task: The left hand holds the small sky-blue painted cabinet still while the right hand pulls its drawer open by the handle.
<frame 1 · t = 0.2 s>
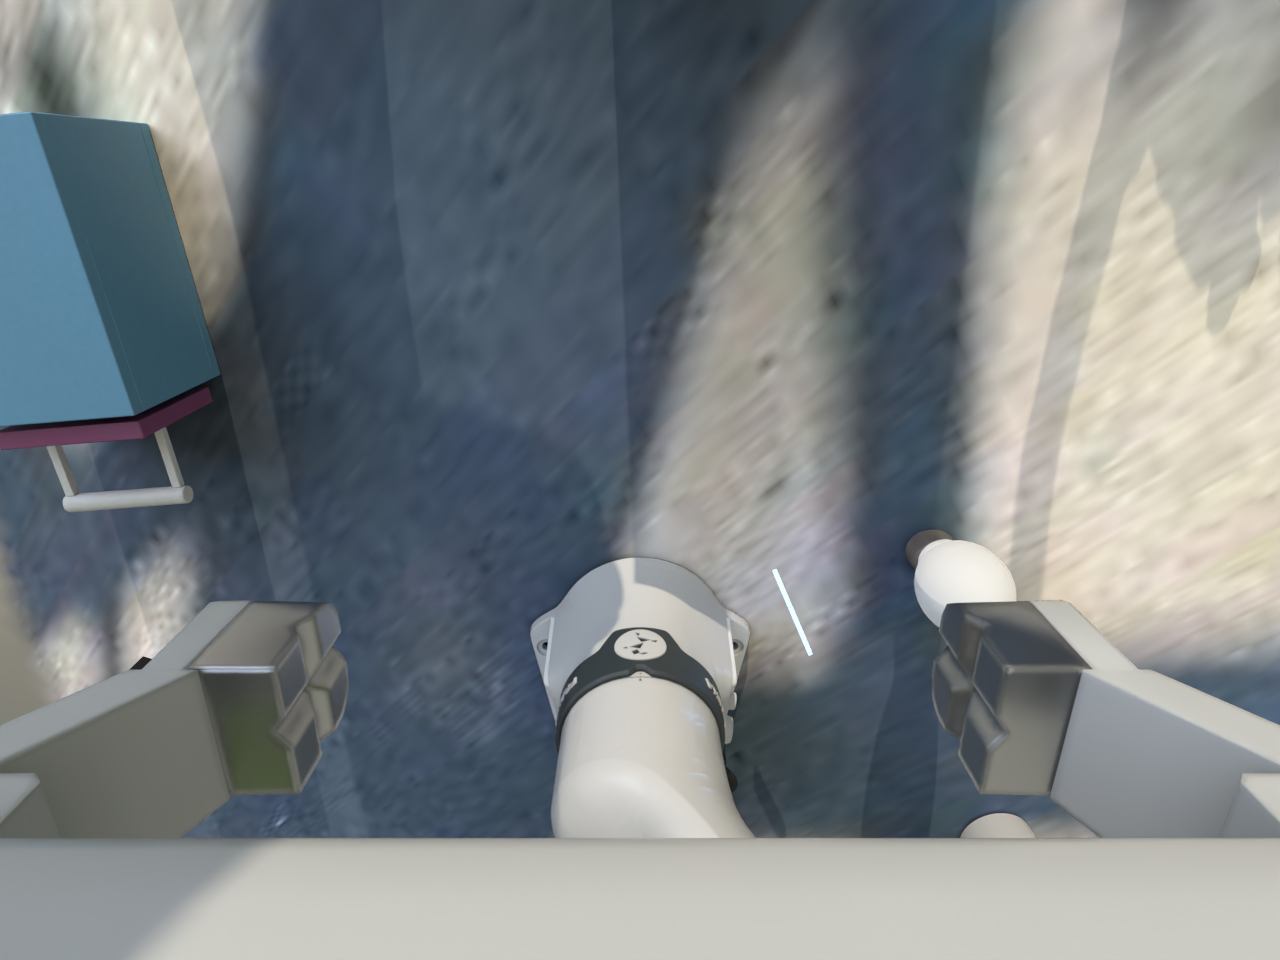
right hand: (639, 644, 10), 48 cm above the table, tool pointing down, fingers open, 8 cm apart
cabinet: (113, 262, 55), on the table
drawer: (89, 352, 52), point 5 cm above the table, slide at 0.6 cm
light bulb: (930, 546, 63), on the table
coffee cup: (993, 837, 75), on the table
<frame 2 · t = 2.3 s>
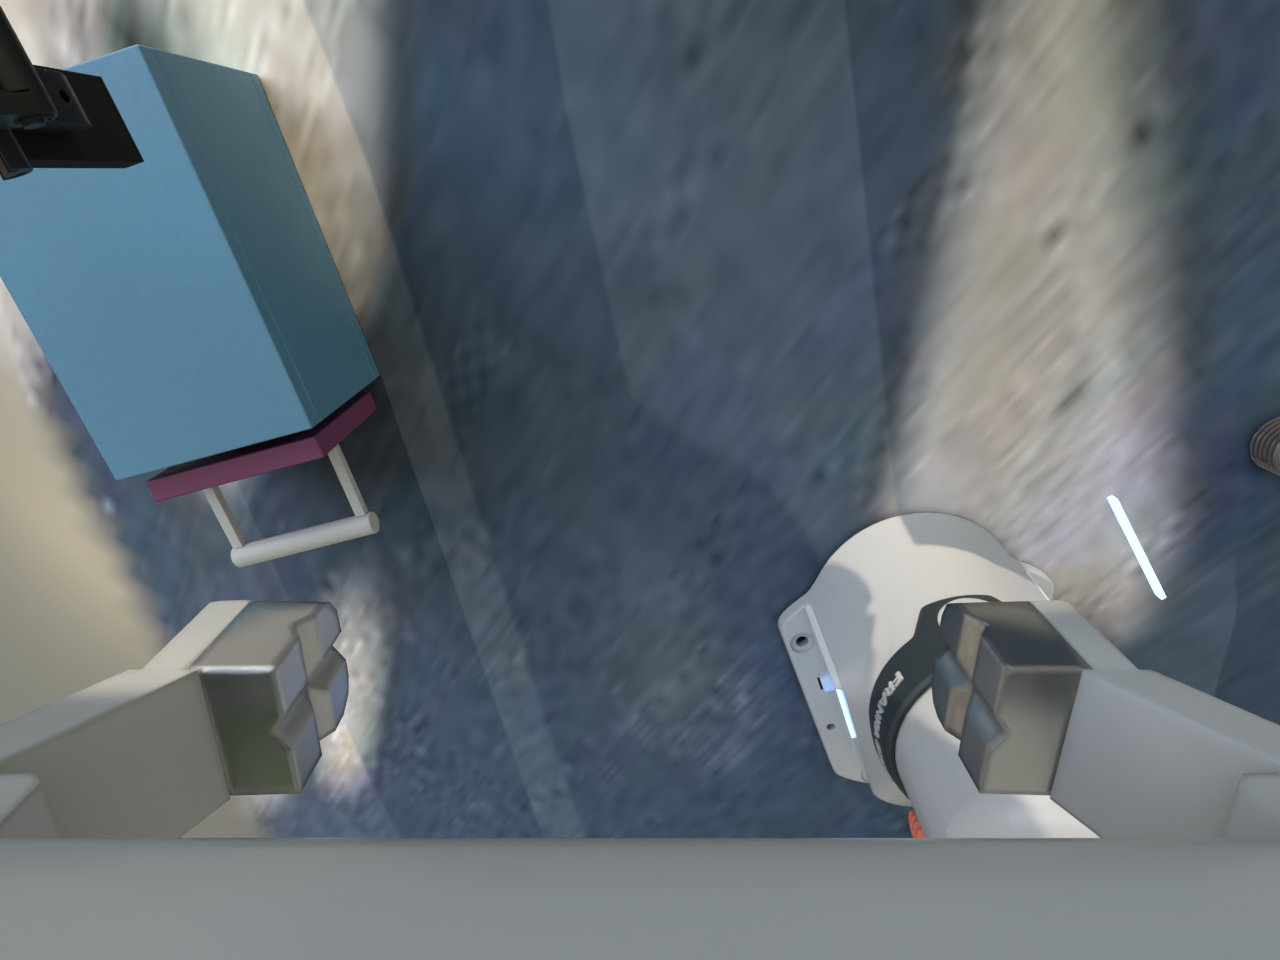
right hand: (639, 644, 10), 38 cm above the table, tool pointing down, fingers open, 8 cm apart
cabinet: (239, 260, 45), on the table
drawer: (235, 368, 42), point 5 cm above the table, slide at 0.6 cm
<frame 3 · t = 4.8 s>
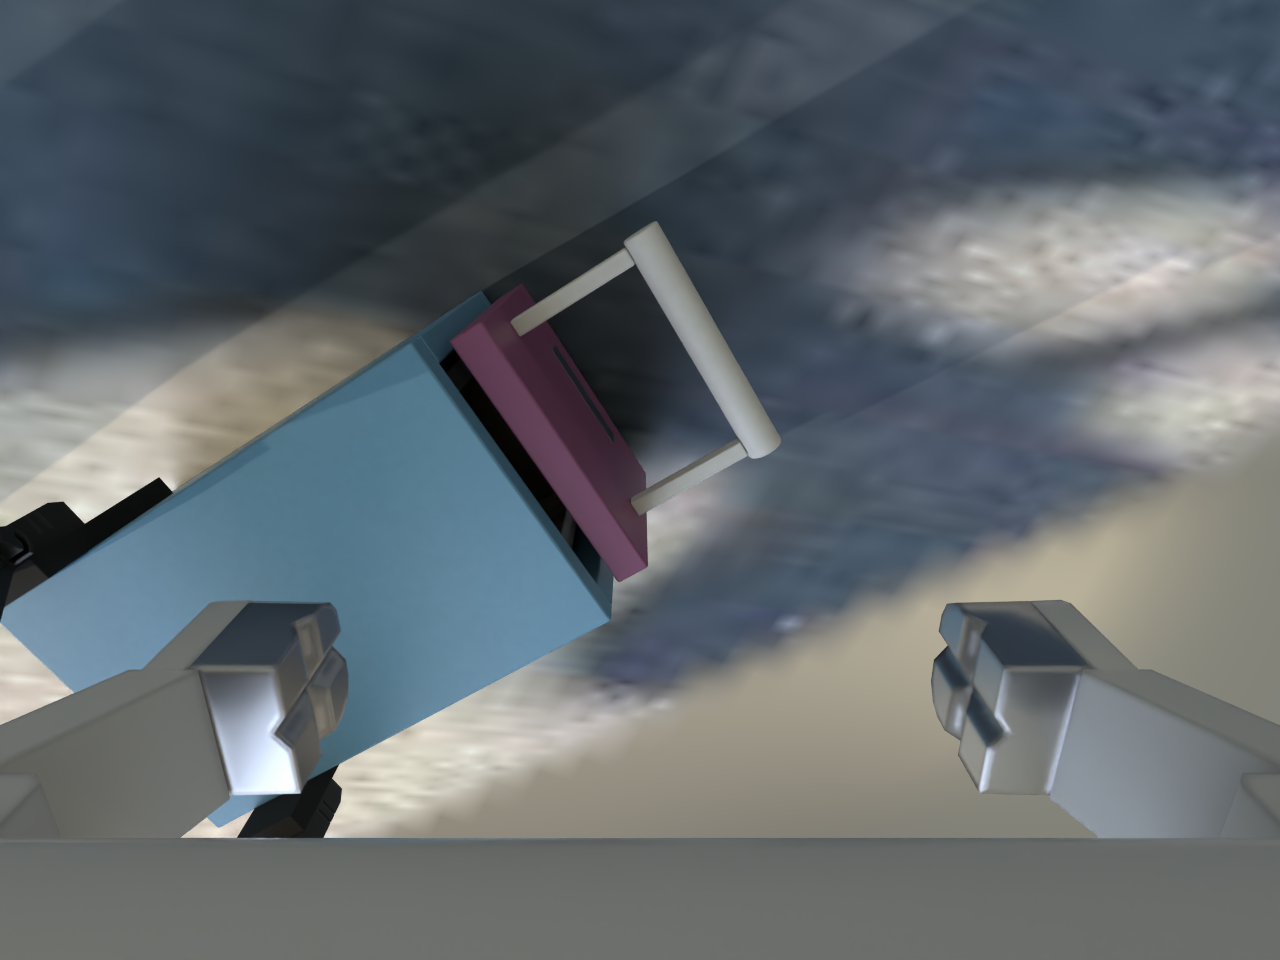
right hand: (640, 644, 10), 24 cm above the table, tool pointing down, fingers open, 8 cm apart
cabinet: (396, 492, 35), on the table, touching left hand
drawer: (467, 479, 29), point 5 cm above the table, slide at 0.6 cm
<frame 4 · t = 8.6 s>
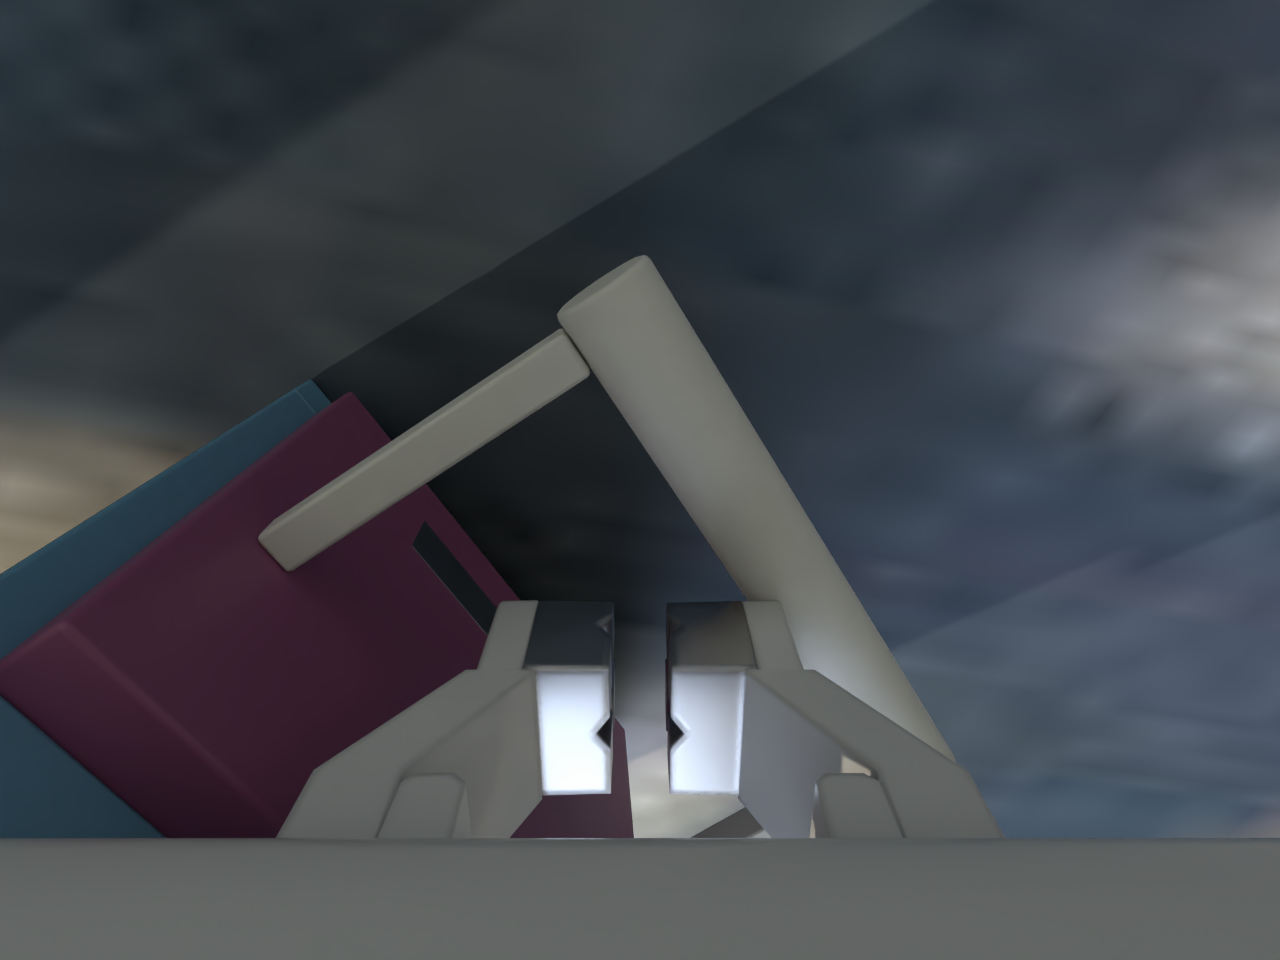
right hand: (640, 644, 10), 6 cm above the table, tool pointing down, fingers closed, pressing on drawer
cabinet: (179, 762, 18), point 1 cm above the table, tilted 6°, touching left hand
drawer: (225, 852, 13), point 6 cm above the table, slide at -0.3 cm, touching right hand
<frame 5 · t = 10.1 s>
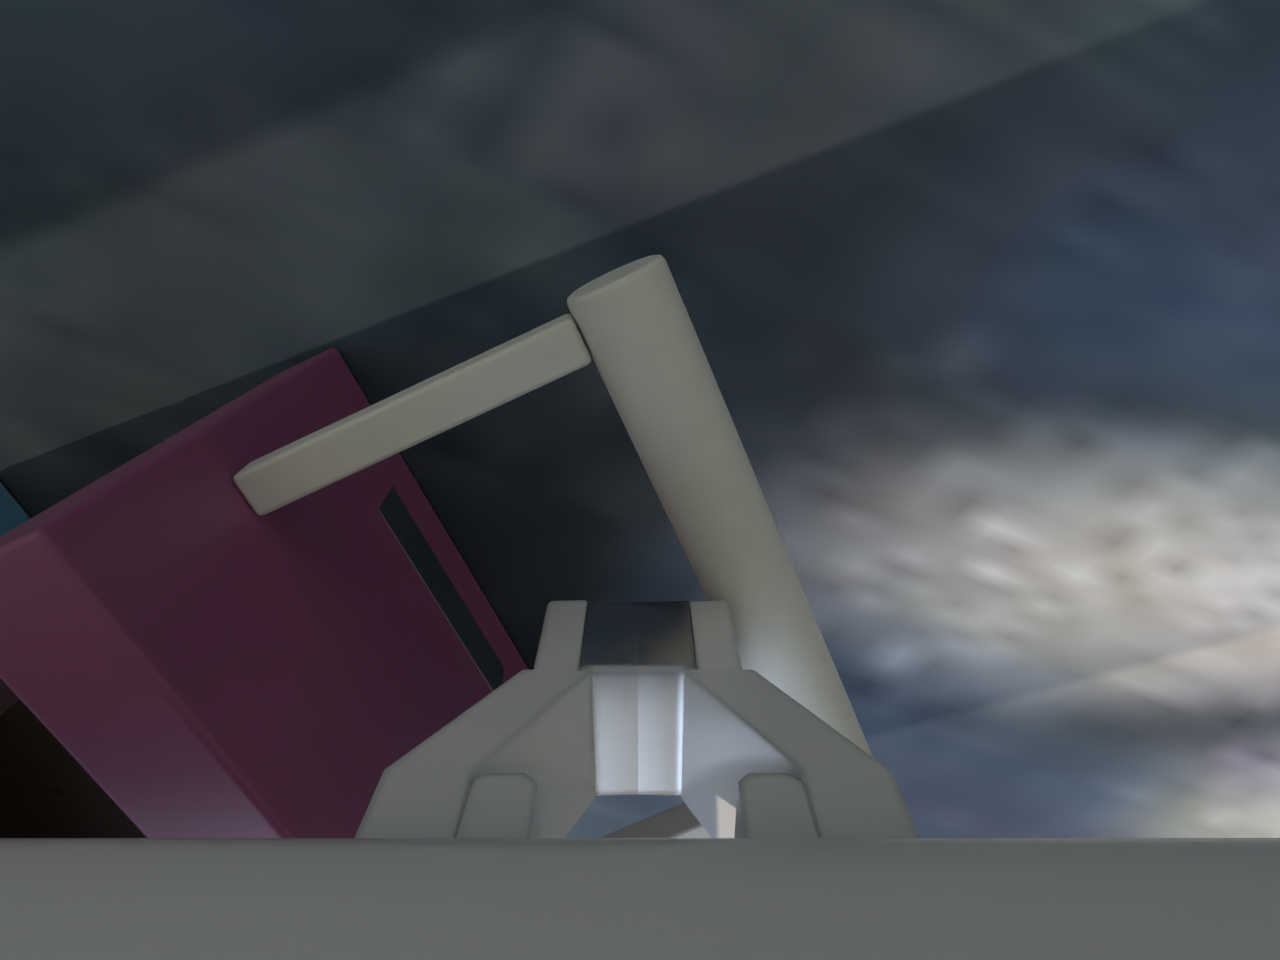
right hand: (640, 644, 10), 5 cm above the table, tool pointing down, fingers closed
drawer: (142, 795, 12), point 5 cm above the table, slide at 6.6 cm, touching right hand
when the left hand's fingers open (6 cm above the table, at t = 12.0 s): cabinet stays where it is, on the table.
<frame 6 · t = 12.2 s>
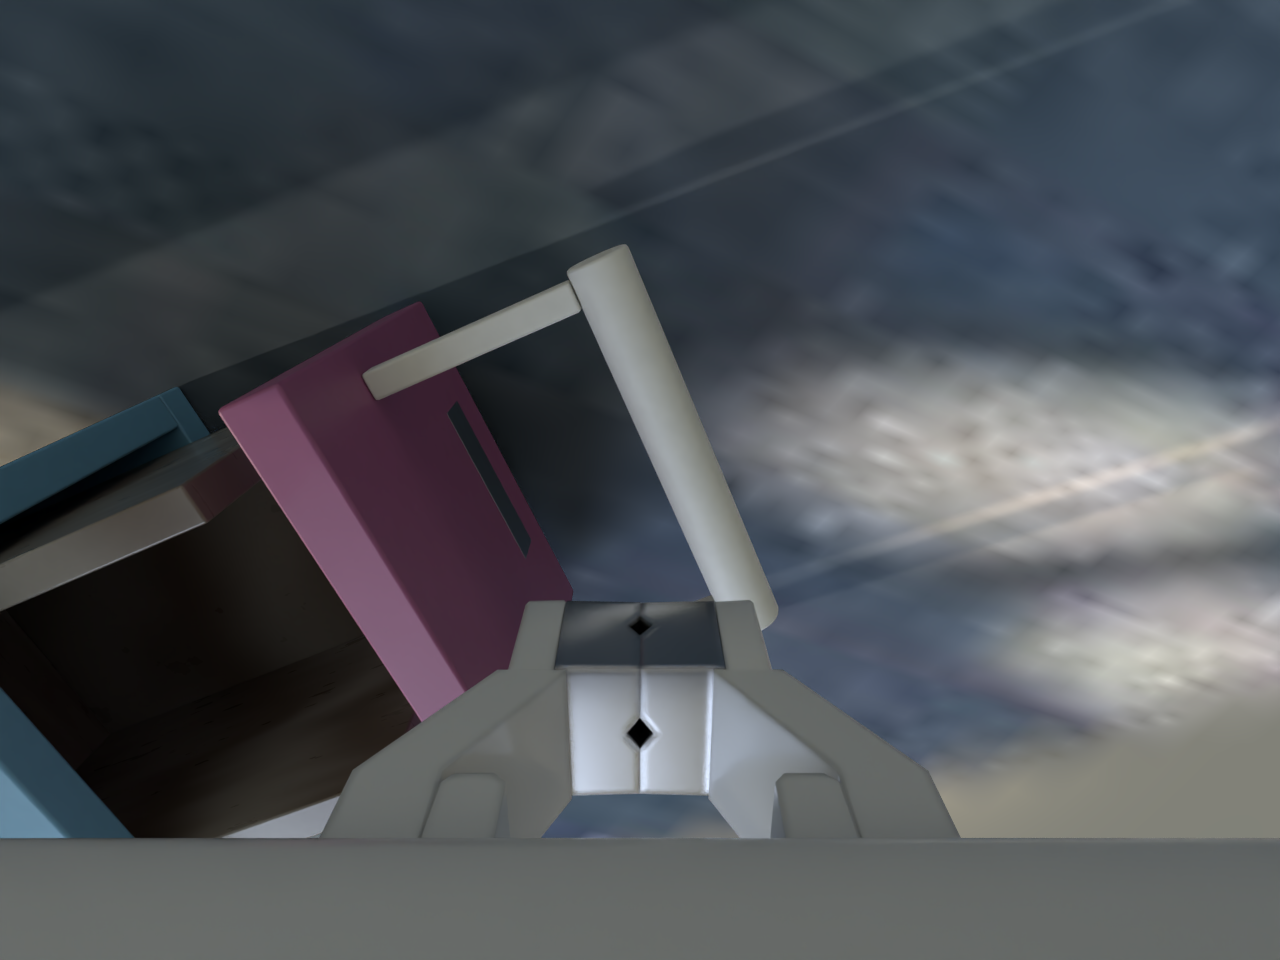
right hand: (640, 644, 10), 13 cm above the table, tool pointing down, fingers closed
cabinet: (59, 631, 25), on the table
drawer: (287, 594, 19), point 5 cm above the table, slide at 6.8 cm
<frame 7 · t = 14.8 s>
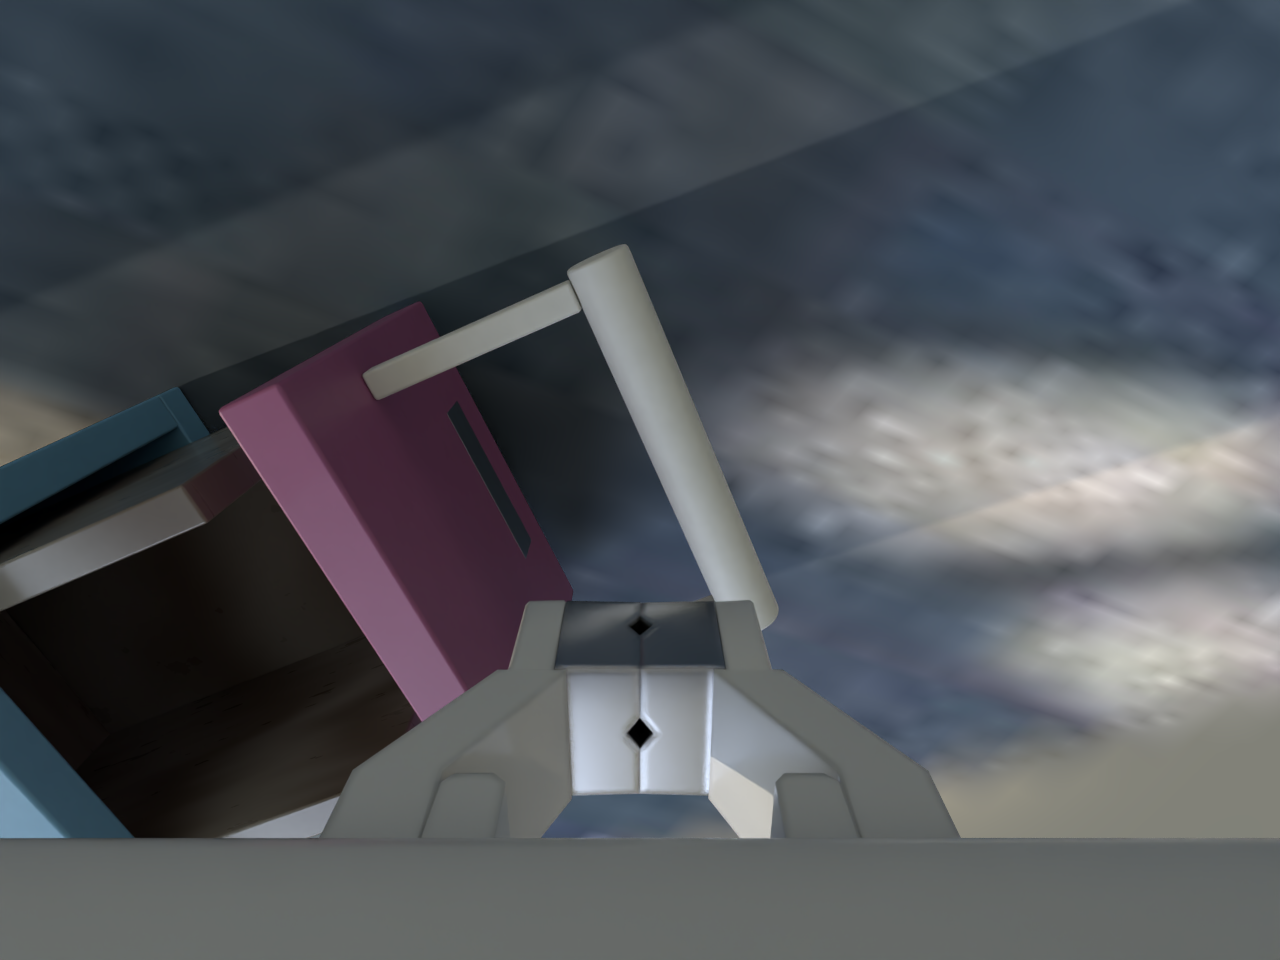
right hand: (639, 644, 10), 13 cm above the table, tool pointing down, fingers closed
cabinet: (59, 632, 25), on the table
drawer: (287, 594, 19), point 5 cm above the table, slide at 6.8 cm
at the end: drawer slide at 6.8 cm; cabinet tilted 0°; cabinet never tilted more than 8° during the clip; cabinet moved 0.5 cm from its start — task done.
